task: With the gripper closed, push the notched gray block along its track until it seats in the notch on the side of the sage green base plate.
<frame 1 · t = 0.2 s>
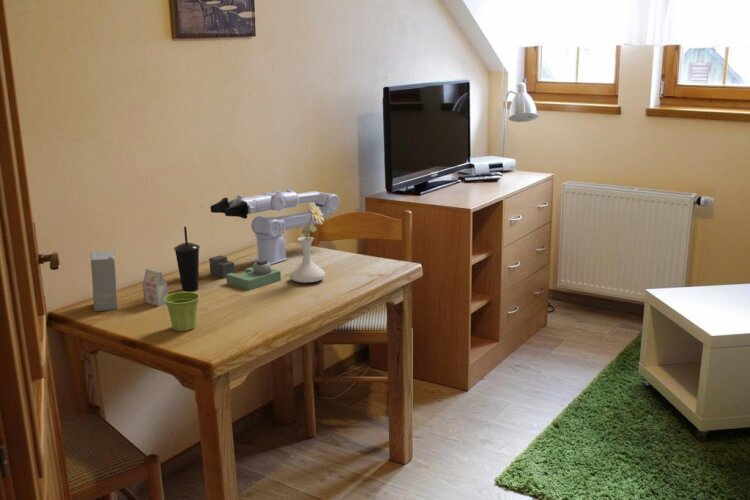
hand: (218, 211, 251), 21 cm above the table, tool horizontal, fingers open, 7 cm apart
white printed carton: (156, 303, 229), on the table
drinking cup: (190, 290, 241), on the table
notched gray block: (221, 266, 255), point 3 cm above the table, slide at 9.0 cm
flower in vase: (309, 280, 248), on the table
plant pot: (184, 328, 208), on the table
skincare box: (107, 307, 227), on the table
supplement bottle: (190, 279, 252), on the table
sage green base plate: (254, 281, 247), on the table
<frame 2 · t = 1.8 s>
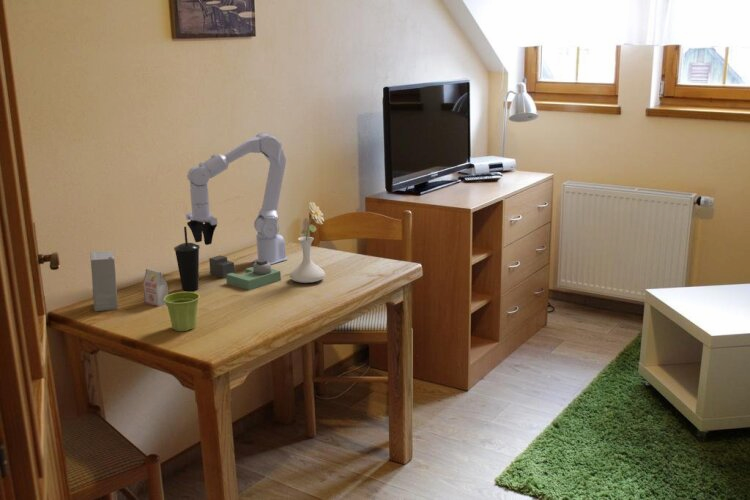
hand: (203, 243, 259), 9 cm above the table, tool pointing down, fingers open, 5 cm apart
nothing on the table moved.
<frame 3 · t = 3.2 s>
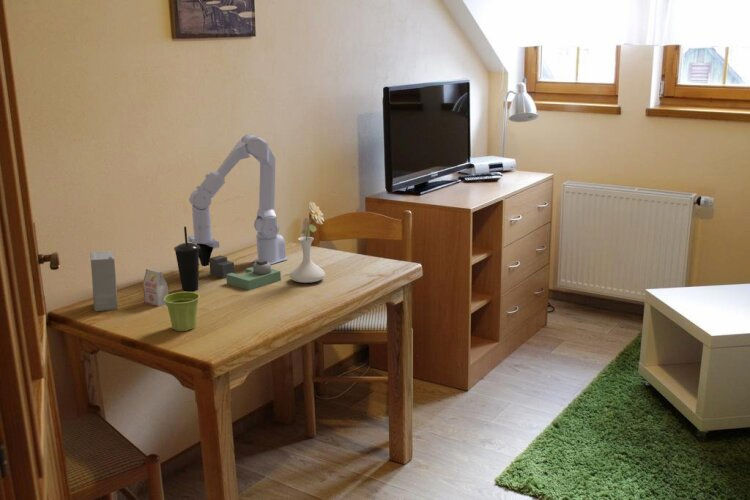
hand: (205, 265, 261), 2 cm above the table, tool pointing down, fingers closed
nothing on the table moved.
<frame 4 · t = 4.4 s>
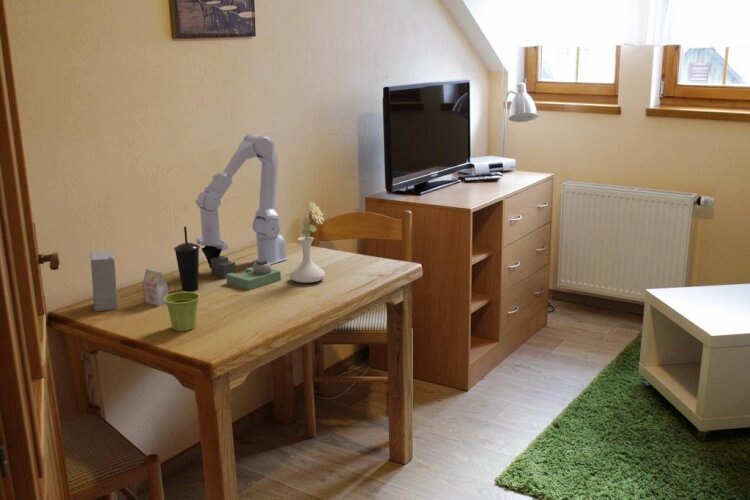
hand: (213, 267, 258), 2 cm above the table, tool pointing down, fingers closed
notched gray block: (223, 267, 254), point 3 cm above the table, slide at 8.4 cm, touching gripper
everything else where it was.
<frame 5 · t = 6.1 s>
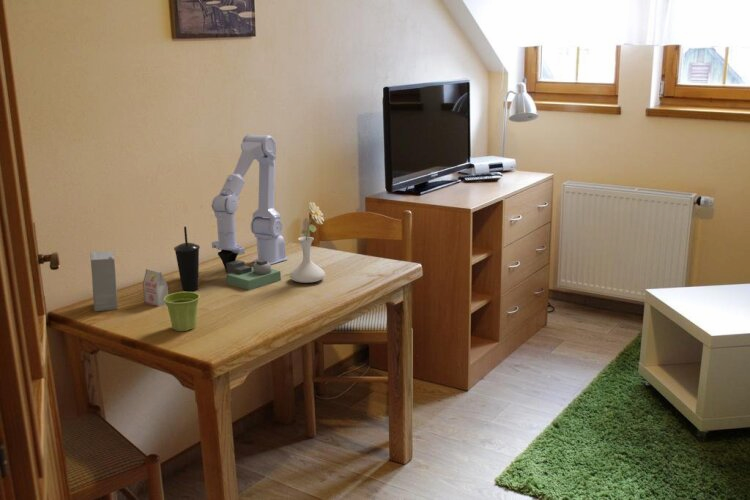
hand: (229, 272, 252), 2 cm above the table, tool pointing down, fingers closed
notched gray block: (239, 271, 249), point 3 cm above the table, slide at -0.1 cm, touching gripper
everything else where it was.
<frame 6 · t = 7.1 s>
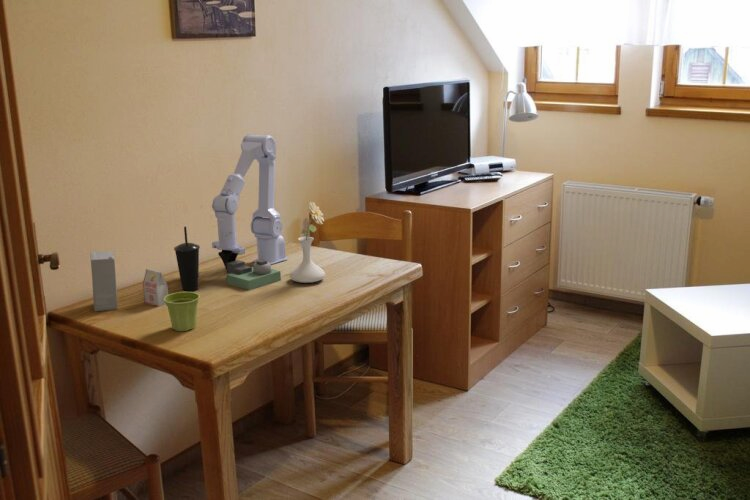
hand: (230, 272, 252), 2 cm above the table, tool pointing down, fingers closed
nothing on the table moved.
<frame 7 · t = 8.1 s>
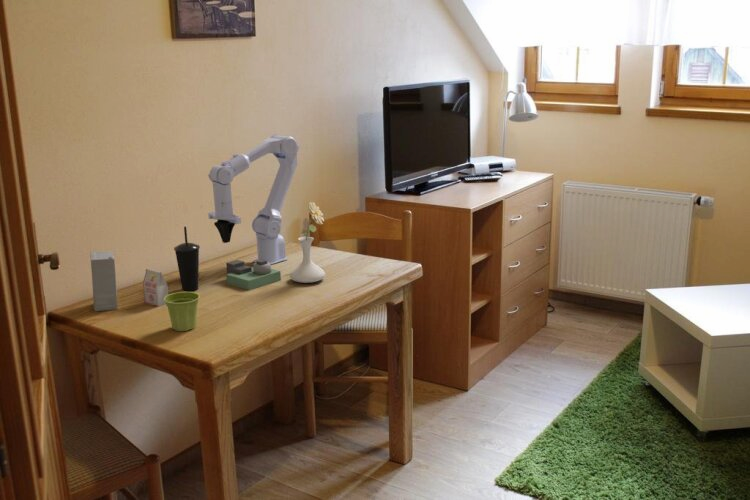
hand: (226, 242, 258), 10 cm above the table, tool pointing down, fingers closed
notched gray block: (239, 271, 249), point 3 cm above the table, slide at 0.0 cm
everything else where it was.
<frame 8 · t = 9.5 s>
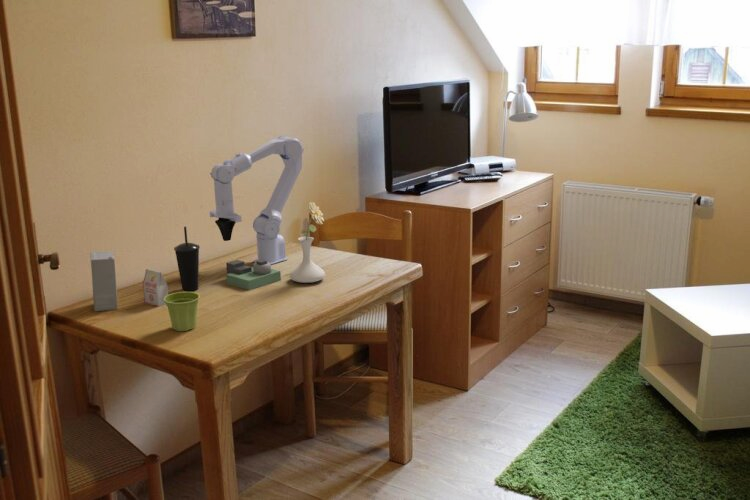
hand: (227, 240, 260), 10 cm above the table, tool pointing down, fingers closed
nothing on the table moved.
at the end: notched gray block slide at 0.0 cm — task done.
